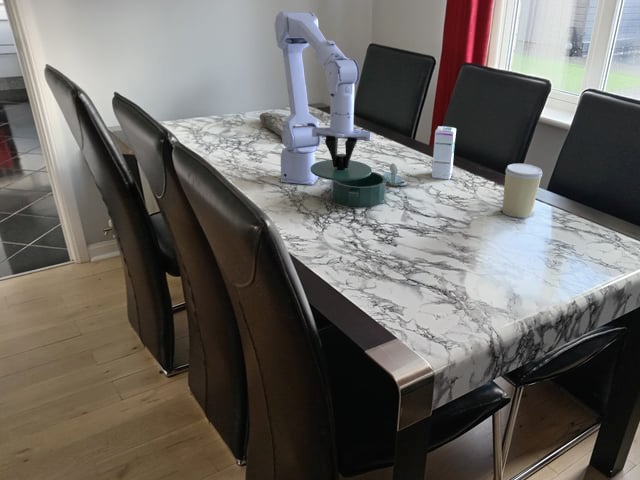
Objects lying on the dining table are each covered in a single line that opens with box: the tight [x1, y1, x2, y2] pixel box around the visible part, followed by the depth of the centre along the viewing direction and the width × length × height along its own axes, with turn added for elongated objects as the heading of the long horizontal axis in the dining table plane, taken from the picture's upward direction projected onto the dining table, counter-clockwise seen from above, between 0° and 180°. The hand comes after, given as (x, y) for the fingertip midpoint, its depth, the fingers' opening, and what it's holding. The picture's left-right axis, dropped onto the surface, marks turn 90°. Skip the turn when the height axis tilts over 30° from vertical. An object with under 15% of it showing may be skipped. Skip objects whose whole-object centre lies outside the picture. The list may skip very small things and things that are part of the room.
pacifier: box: [383, 162, 408, 187], centre depth 167 cm, size 7×6×6 cm
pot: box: [330, 171, 387, 208], centre depth 156 cm, size 15×20×5 cm
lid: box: [311, 153, 373, 181], centre depth 146 cm, size 16×16×5 cm
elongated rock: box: [259, 111, 296, 139], centre depth 211 cm, size 35×5×10 cm
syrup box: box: [431, 125, 457, 180], centre depth 174 cm, size 6×6×14 cm
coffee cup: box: [502, 163, 543, 219], centre depth 151 cm, size 9×9×12 cm
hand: (341, 166), depth 147 cm, fingers closed on lid, 2 cm apart
